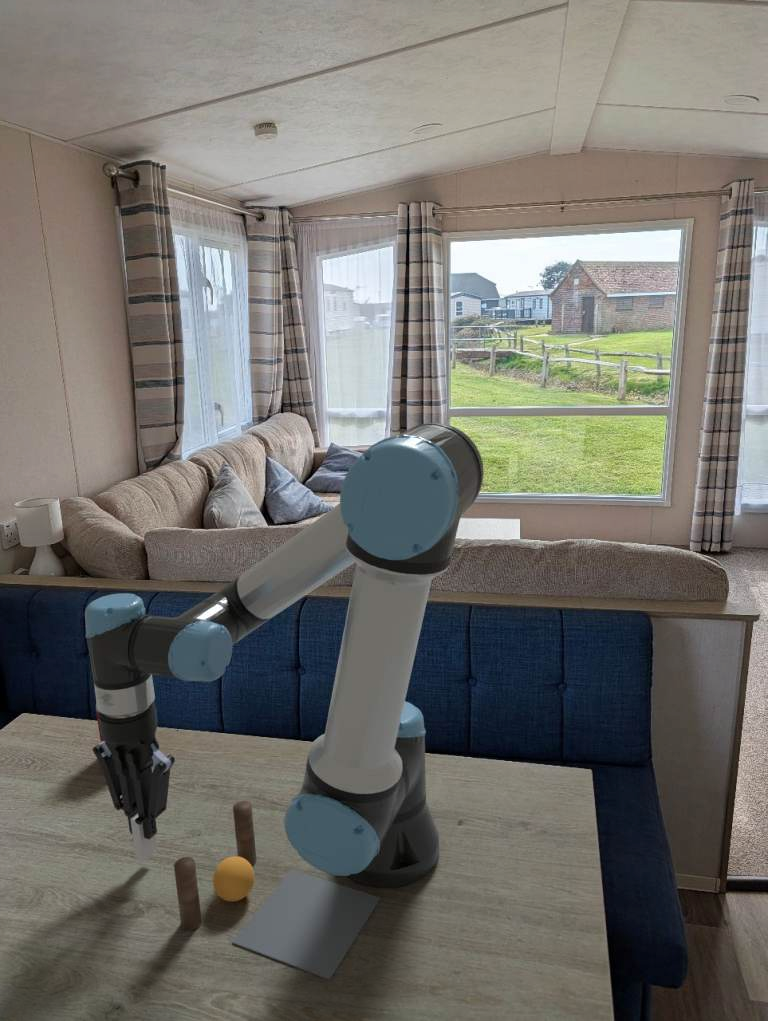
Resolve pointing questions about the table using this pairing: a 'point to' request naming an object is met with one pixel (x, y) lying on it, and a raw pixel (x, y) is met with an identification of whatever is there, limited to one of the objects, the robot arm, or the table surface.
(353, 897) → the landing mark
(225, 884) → the ball
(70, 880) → the table surface
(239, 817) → the post
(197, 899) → the front post
